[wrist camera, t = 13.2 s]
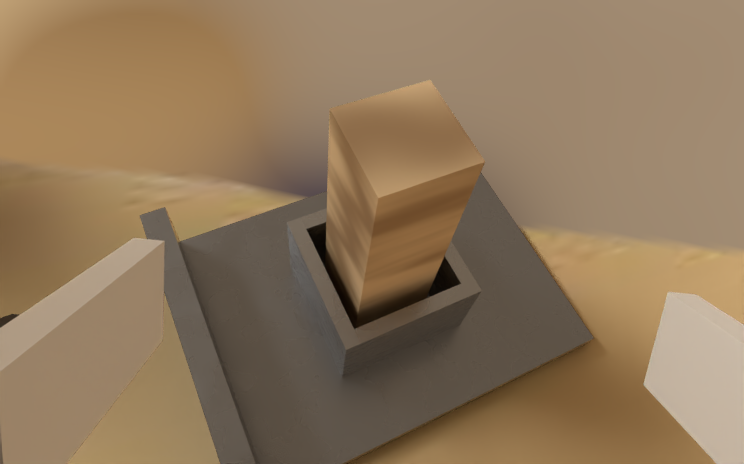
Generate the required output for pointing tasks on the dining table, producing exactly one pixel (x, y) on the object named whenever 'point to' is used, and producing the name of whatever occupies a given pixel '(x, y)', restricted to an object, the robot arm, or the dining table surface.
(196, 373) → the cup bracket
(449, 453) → the dining table surface
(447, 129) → the wooden block
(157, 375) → the dining table surface
